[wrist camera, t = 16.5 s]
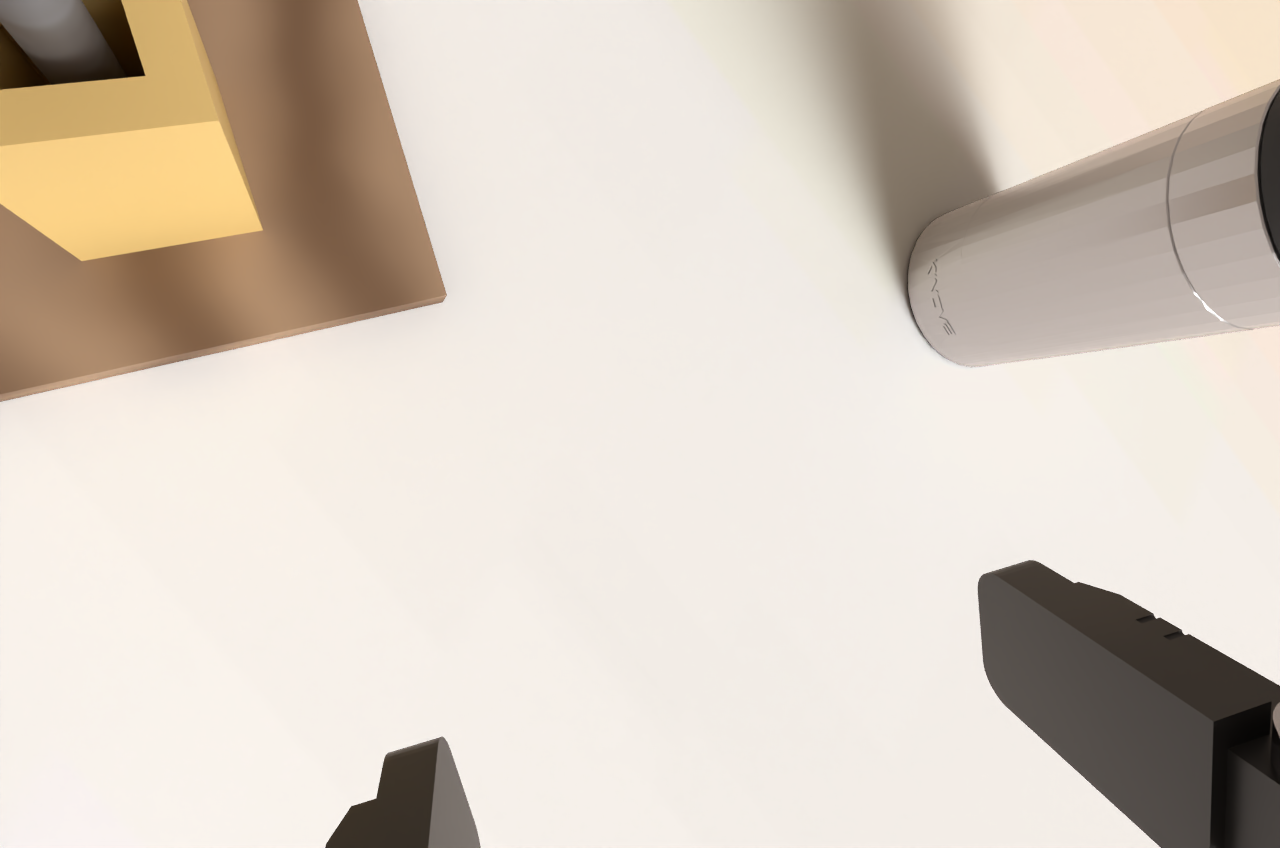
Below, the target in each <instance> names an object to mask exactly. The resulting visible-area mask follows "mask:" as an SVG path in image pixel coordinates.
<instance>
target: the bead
mask: <svg viewBox="0 0 1280 848" xmlns="http://www.w3.org/2000/svg"><path fill="white" fill-rule="evenodd" d="M82 2H83V3H84V5H85V7H86V8H87V10H88V12H89V13H90V15H91V17H92V18H93V20H94V22H95V23H96V25H97V27H98V28H99V30H100V32H101V33H102V35H103V37H104V38H105V40H106V42H107V43H108V45H109V47H110V48H111V50H112V52H113V53H114V55H115V57H116V58H117V60H118V62H119V63H120V65H121V67H122V68H123V70H124V72H125V73H126V75H127V77H128V78H119V79H108V80H98V81H87V82H77V83H66V84H55V85H51V84H50V82H49V81H48V80H47V79H46V78H45V76H44V75H43V74H42V73H41V71H40V70H39V69H38V68H37V67H36V65H35V64H34V63H33V62H32V60H31V59H30V58H29V57H28V56H27V54H26V53H25V52H24V51H23V49H22V48H21V47H20V46H19V45H18V43H17V42H16V41H15V40H14V38H13V37H12V36H11V35H10V34H9V32H8V31H7V30H6V29H5V28H4V26H3V25H2V24H1V23H0V204H1V205H3V206H4V207H6V208H7V209H9V210H10V211H11V212H13V213H14V214H16V215H17V216H18V217H20V218H21V219H23V220H24V221H26V222H27V223H28V224H30V225H31V226H33V227H34V228H35V229H37V230H38V231H40V232H41V233H42V234H44V235H45V236H47V237H48V238H50V239H51V240H52V241H54V242H55V243H57V244H58V245H59V246H61V247H62V248H64V249H65V250H67V251H68V252H69V253H71V254H72V255H74V256H75V257H76V258H78V259H79V260H81V261H86V260H91V259H97V258H103V257H109V256H115V255H121V254H127V253H133V252H139V251H144V250H150V249H156V248H162V247H168V246H174V245H180V244H186V243H191V242H197V241H203V240H209V239H215V238H221V237H227V236H233V235H239V234H244V233H250V232H256V231H262V230H263V228H262V225H261V222H260V219H259V215H258V212H257V209H256V206H255V203H254V199H253V196H252V193H251V190H250V187H249V184H248V180H247V177H246V174H245V171H244V168H243V164H242V161H241V158H240V155H239V152H238V148H237V145H236V142H235V139H234V136H233V133H232V129H231V126H230V123H229V120H228V117H227V113H226V110H225V107H224V104H223V101H222V98H221V94H220V91H219V88H218V85H217V82H216V78H215V75H214V73H213V70H212V67H211V64H210V62H209V59H208V56H207V54H206V51H205V48H204V45H203V43H202V40H201V37H200V34H199V32H198V29H197V26H196V24H195V21H194V18H193V15H192V13H191V10H190V7H189V5H188V2H187V0H82Z"/></svg>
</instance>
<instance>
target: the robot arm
mask: <svg viewBox="0 0 1280 848" xmlns="http://www.w3.org/2000/svg"><path fill="white" fill-rule="evenodd" d="M908 292H909V297H910V303H911V308H912V311H913V314H914V316H915V319H916V322H917V324H918V326H919V328H920V330H921V331H922V333H923V335H924V337H925V338H926V339H927V340H928V342H929V343H930V344H931V345H932V347H933V348H934V349H935V350H936V351H938V352H939V353H940V354H941V355H943V356H944V357H945V358H946V359H948V360H950V361H952V362H954V363H957V364H959V365H963V366H968V367H980V366H989V365H997V364H1004V363H1011V362H1019V361H1026V360H1035V359H1043V358H1050V357H1057V356H1065V355H1072V354H1079V353H1086V352H1094V351H1101V350H1108V349H1115V348H1123V347H1130V346H1137V345H1145V344H1152V343H1159V342H1166V341H1174V340H1181V339H1188V338H1196V337H1203V336H1210V335H1217V334H1225V333H1232V332H1239V331H1246V330H1253V329H1258V328H1265V327H1273V326H1280V79H1279V80H1276V81H1274V82H1271V83H1269V84H1266V85H1264V86H1262V87H1259V88H1257V89H1254V90H1252V91H1249V92H1247V93H1244V94H1242V95H1239V96H1237V97H1234V98H1232V99H1229V100H1227V101H1224V102H1222V103H1219V104H1217V105H1214V106H1212V107H1210V108H1207V109H1205V110H1203V111H1201V112H1198V113H1196V114H1193V115H1191V116H1188V117H1186V118H1183V119H1181V120H1178V121H1176V122H1173V123H1171V124H1168V125H1166V126H1163V127H1161V128H1158V129H1156V130H1153V131H1151V132H1148V133H1146V134H1143V135H1141V136H1138V137H1136V138H1133V139H1131V140H1128V141H1126V142H1123V143H1121V144H1118V145H1116V146H1113V147H1111V148H1108V149H1106V150H1103V151H1101V152H1098V153H1096V154H1093V155H1091V156H1088V157H1086V158H1083V159H1081V160H1078V161H1076V162H1073V163H1071V164H1068V165H1066V166H1063V167H1061V168H1058V169H1056V170H1053V171H1051V172H1048V173H1046V174H1044V175H1041V176H1039V177H1036V178H1034V179H1031V180H1029V181H1026V182H1024V183H1021V184H1019V185H1016V186H1014V187H1011V188H1009V189H1006V190H1004V191H1000V192H998V193H995V194H993V195H990V196H988V197H986V198H983V199H981V200H978V201H976V202H973V203H971V204H968V205H966V206H963V207H961V208H958V209H956V210H953V211H951V212H948V213H946V214H944V215H942V216H940V217H939V218H937V219H935V220H934V221H933V222H932V223H930V224H929V225H928V226H927V227H926V228H925V229H924V231H923V232H922V234H921V235H920V237H919V238H918V240H917V242H916V244H915V247H914V249H913V252H912V255H911V259H910V264H909V270H908ZM978 599H979V612H980V625H981V639H982V652H983V663H984V668H985V672H986V675H987V677H988V680H989V682H990V684H991V686H992V688H993V690H994V691H995V693H996V695H997V696H998V697H999V699H1000V700H1001V701H1002V703H1003V704H1004V705H1005V706H1006V707H1007V708H1008V709H1010V710H1011V711H1012V712H1013V713H1014V714H1015V715H1016V716H1017V717H1018V718H1019V719H1021V720H1022V721H1023V722H1024V723H1025V724H1026V725H1027V726H1028V727H1029V728H1030V729H1031V730H1033V731H1034V732H1035V733H1036V734H1037V735H1038V736H1039V737H1040V738H1041V739H1042V740H1044V741H1045V742H1046V743H1047V744H1048V745H1049V746H1050V747H1051V748H1052V749H1053V750H1055V751H1056V752H1057V753H1058V754H1059V755H1060V756H1061V757H1062V758H1063V759H1064V760H1066V761H1067V762H1068V763H1069V764H1070V765H1071V766H1072V767H1073V768H1074V769H1075V770H1076V771H1078V772H1079V773H1080V774H1081V775H1082V776H1083V777H1084V778H1085V779H1086V780H1087V781H1089V782H1090V783H1091V784H1092V785H1093V786H1094V787H1095V788H1096V789H1097V790H1098V791H1100V792H1101V793H1102V794H1103V795H1104V796H1105V797H1106V798H1107V799H1108V800H1109V801H1110V802H1112V803H1113V804H1114V805H1115V806H1116V807H1117V808H1118V809H1119V810H1120V811H1121V812H1123V813H1124V814H1125V815H1126V816H1127V817H1128V818H1129V819H1130V820H1131V821H1132V822H1134V823H1135V824H1136V825H1137V826H1138V827H1139V828H1140V829H1141V830H1142V831H1143V832H1144V833H1146V834H1147V835H1148V836H1149V837H1150V838H1151V839H1152V840H1153V841H1154V842H1155V843H1157V844H1158V845H1159V846H1160V847H1161V848H1280V686H1279V685H1277V684H1275V683H1274V682H1272V681H1270V680H1268V679H1267V678H1265V677H1263V676H1261V675H1260V674H1258V673H1256V672H1254V671H1253V670H1251V669H1249V668H1247V667H1246V666H1244V665H1242V664H1240V663H1239V662H1237V661H1235V660H1233V659H1232V658H1230V657H1228V656H1226V655H1225V654H1223V653H1221V652H1219V651H1218V650H1216V649H1214V648H1212V647H1211V646H1209V645H1207V644H1205V643H1204V642H1202V641H1200V640H1198V639H1197V638H1195V637H1193V636H1191V635H1190V634H1188V635H1184V634H1183V633H1182V630H1181V629H1179V628H1177V627H1176V626H1174V625H1172V624H1170V623H1169V622H1167V621H1165V620H1163V619H1162V618H1158V619H1156V618H1155V617H1154V615H1153V613H1151V612H1149V611H1148V610H1146V609H1144V608H1142V607H1141V606H1139V605H1137V604H1135V603H1134V602H1132V601H1130V600H1128V599H1127V598H1125V597H1123V596H1121V595H1119V594H1116V593H1113V592H1110V591H1106V590H1103V589H1100V588H1097V587H1093V586H1090V585H1087V584H1083V583H1080V582H1077V583H1073V582H1071V581H1070V580H1068V579H1066V578H1065V577H1063V576H1061V575H1059V574H1058V573H1056V572H1054V571H1053V570H1051V569H1049V568H1048V567H1046V566H1044V565H1043V564H1041V563H1039V562H1037V561H1033V560H1029V561H1025V562H1022V563H1019V564H1015V565H1012V566H1009V567H1006V568H1002V569H999V570H996V571H992V572H989V573H986V574H983V575H982V576H981V577H980V579H979V582H978ZM325 848H480V842H479V837H478V833H477V829H476V825H475V822H474V819H473V816H472V813H471V810H470V807H469V804H468V801H467V798H466V795H465V792H464V789H463V786H462V783H461V780H460V777H459V774H458V771H457V768H456V765H455V762H454V759H453V756H452V753H451V750H450V748H449V745H448V743H447V741H446V740H445V738H444V737H440V738H436V739H433V740H430V741H426V742H423V743H420V744H417V745H413V746H410V747H407V748H403V749H400V750H397V751H393V752H390V753H388V754H387V755H386V756H385V759H384V763H383V768H382V773H381V778H380V783H379V788H378V793H377V798H376V799H374V800H370V801H367V802H364V803H361V804H358V805H354V806H351V808H350V809H349V811H348V812H347V814H346V815H345V817H344V818H343V820H342V821H341V823H340V824H339V826H338V827H337V829H336V830H335V832H334V833H333V835H332V836H331V838H330V839H329V841H328V842H327V844H326V847H325Z"/></svg>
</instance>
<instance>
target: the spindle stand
mask: <svg viewBox="0 0 1280 848" xmlns="http://www.w3.org/2000/svg"><path fill="white" fill-rule="evenodd" d="M187 2H188V5H189V7H190V10H191V13H192V15H193V18H194V21H195V24H196V26H197V29H198V32H199V34H200V37H201V40H202V43H203V45H204V48H205V51H206V54H207V56H208V59H209V62H210V64H211V67H212V70H213V73H214V75H215V78H216V82H217V85H218V88H219V91H220V94H221V98H222V101H223V104H224V107H225V110H226V113H227V117H228V120H229V123H230V126H231V129H232V133H233V136H234V139H235V142H236V145H237V148H238V152H239V155H240V158H241V161H242V164H243V168H244V171H245V174H246V177H247V180H248V184H249V187H250V190H251V193H252V196H253V199H254V203H255V206H256V209H257V212H258V215H259V219H260V222H261V225H262V228H263V230H262V231H256V232H250V233H244V234H239V235H233V236H227V237H221V238H215V239H209V240H203V241H197V242H191V243H186V244H180V245H174V246H168V247H162V248H156V249H150V250H144V251H139V252H133V253H127V254H121V255H115V256H109V257H103V258H97V259H91V260H86V261H81V260H79V259H78V258H76V257H75V256H74V255H72V254H71V253H69V252H68V251H67V250H65V249H64V248H62V247H61V246H59V245H58V244H57V243H55V242H54V241H52V240H51V239H50V238H48V237H47V236H45V235H44V234H42V233H41V232H40V231H38V230H37V229H35V228H34V227H33V226H31V225H30V224H28V223H27V222H26V221H24V220H23V219H21V218H20V217H18V216H17V215H16V214H14V213H13V212H11V211H10V210H9V209H7V208H6V207H4V206H3V205H1V204H0V402H1V401H6V400H10V399H14V398H19V397H23V396H28V395H32V394H37V393H41V392H46V391H50V390H54V389H59V388H63V387H68V386H72V385H77V384H81V383H85V382H90V381H94V380H99V379H103V378H108V377H112V376H117V375H121V374H125V373H130V372H134V371H139V370H143V369H148V368H152V367H157V366H161V365H165V364H170V363H174V362H179V361H183V360H188V359H192V358H196V357H201V356H205V355H210V354H214V353H219V352H223V351H228V350H232V349H236V348H241V347H245V346H250V345H254V344H259V343H263V342H267V341H272V340H276V339H281V338H285V337H290V336H294V335H299V334H303V333H307V332H312V331H316V330H321V329H325V328H330V327H334V326H339V325H343V324H347V323H352V322H356V321H361V320H365V319H370V318H374V317H378V316H383V315H387V314H392V313H396V312H401V311H405V310H410V309H414V308H418V307H423V306H427V305H432V304H436V303H441V302H443V301H444V299H445V297H446V296H447V294H446V291H445V288H444V285H443V281H442V278H441V275H440V271H439V268H438V265H437V261H436V258H435V255H434V252H433V248H432V245H431V242H430V238H429V235H428V232H427V228H426V225H425V222H424V219H423V215H422V212H421V209H420V205H419V202H418V199H417V195H416V192H415V189H414V186H413V182H412V179H411V176H410V172H409V169H408V166H407V162H406V159H405V156H404V153H403V149H402V146H401V143H400V139H399V136H398V133H397V129H396V126H395V123H394V120H393V116H392V113H391V110H390V106H389V103H388V100H387V96H386V93H385V90H384V87H383V83H382V80H381V77H380V73H379V70H378V67H377V63H376V60H375V57H374V53H373V50H372V47H371V44H370V40H369V37H368V34H367V30H366V27H365V24H364V20H363V17H362V14H361V11H360V7H359V4H358V1H357V0H187ZM0 23H1V24H2V25H3V26H4V28H5V29H6V30H7V31H8V32H9V34H10V35H11V36H12V37H13V38H14V40H15V41H16V42H17V43H18V45H19V46H20V47H21V48H22V49H23V51H24V52H25V53H26V54H27V56H28V57H29V58H30V59H31V60H32V62H33V63H34V64H35V65H36V67H37V68H38V69H39V70H40V71H41V73H42V74H43V75H44V76H45V78H46V79H47V80H48V81H49V82H50V84H51V85H55V84H66V83H77V82H87V81H98V80H108V79H119V78H128V77H127V75H126V73H125V72H124V70H123V68H122V67H121V65H120V63H119V62H118V60H117V58H116V57H115V55H114V53H113V52H112V50H111V48H110V47H109V45H108V43H107V42H106V40H105V38H104V37H103V35H102V33H101V32H100V30H99V28H98V27H97V25H96V23H95V22H94V20H93V18H92V17H91V15H90V13H89V12H88V10H87V8H86V7H85V5H84V3H83V2H82V0H0Z"/></svg>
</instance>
